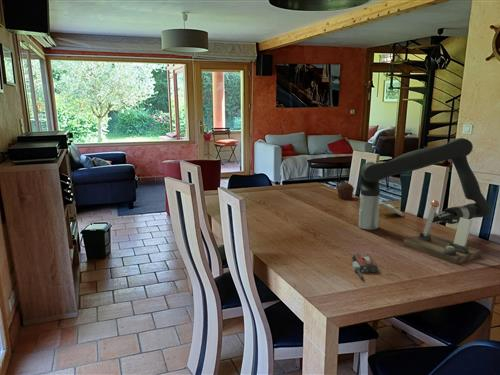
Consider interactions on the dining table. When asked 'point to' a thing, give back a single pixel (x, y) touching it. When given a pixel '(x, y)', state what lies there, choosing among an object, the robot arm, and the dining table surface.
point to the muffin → (345, 191)
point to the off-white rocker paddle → (462, 232)
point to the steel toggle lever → (430, 217)
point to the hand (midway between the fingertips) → (431, 220)
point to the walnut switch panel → (442, 248)
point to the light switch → (390, 208)
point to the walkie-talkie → (364, 264)
